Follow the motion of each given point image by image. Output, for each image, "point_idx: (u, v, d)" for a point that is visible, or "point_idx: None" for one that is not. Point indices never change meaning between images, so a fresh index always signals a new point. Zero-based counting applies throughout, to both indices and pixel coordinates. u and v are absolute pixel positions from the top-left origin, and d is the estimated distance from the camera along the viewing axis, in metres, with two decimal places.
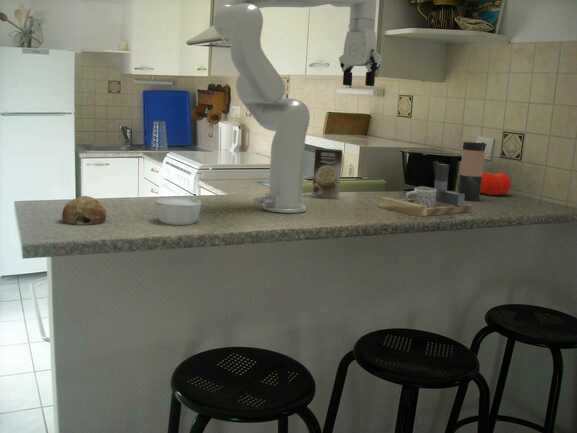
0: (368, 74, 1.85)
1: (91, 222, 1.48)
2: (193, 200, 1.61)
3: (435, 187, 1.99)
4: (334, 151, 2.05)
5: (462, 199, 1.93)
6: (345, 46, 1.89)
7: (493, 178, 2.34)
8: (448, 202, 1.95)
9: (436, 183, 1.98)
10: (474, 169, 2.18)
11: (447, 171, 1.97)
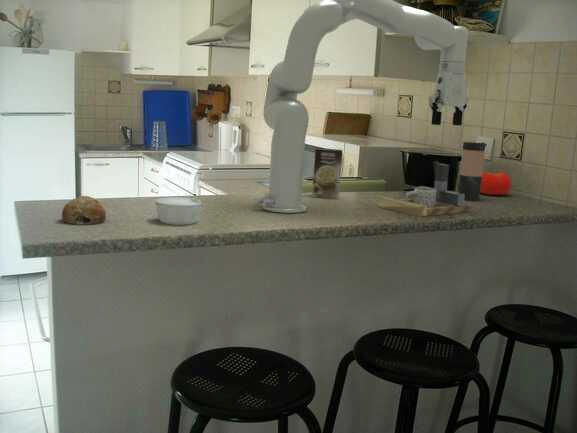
0: None
1: (91, 222, 1.48)
2: (193, 200, 1.61)
3: (435, 187, 1.99)
4: (334, 151, 2.05)
5: (462, 199, 1.93)
6: (448, 87, 1.89)
7: (493, 178, 2.34)
8: (448, 202, 1.95)
9: (436, 183, 1.98)
10: (474, 169, 2.18)
11: (447, 171, 1.97)
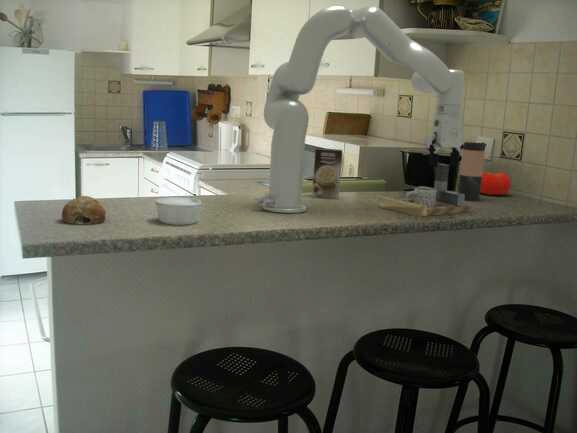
0: None
1: (91, 222, 1.48)
2: (193, 200, 1.61)
3: (435, 187, 1.99)
4: (334, 151, 2.05)
5: (462, 199, 1.93)
6: (444, 129, 1.91)
7: (493, 178, 2.34)
8: (448, 202, 1.95)
9: (436, 183, 1.98)
10: (474, 169, 2.18)
11: (447, 171, 1.97)
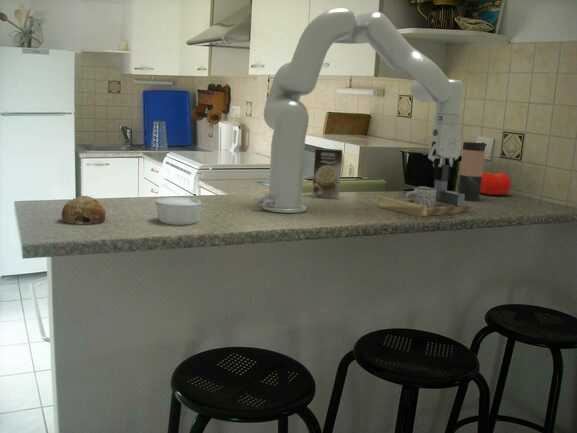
0: None
1: (90, 222, 1.48)
2: (193, 200, 1.61)
3: (435, 187, 1.99)
4: (334, 151, 2.05)
5: (462, 199, 1.93)
6: (443, 139, 1.92)
7: (493, 178, 2.34)
8: (448, 202, 1.95)
9: (436, 183, 1.98)
10: (474, 169, 2.18)
11: (447, 171, 1.97)
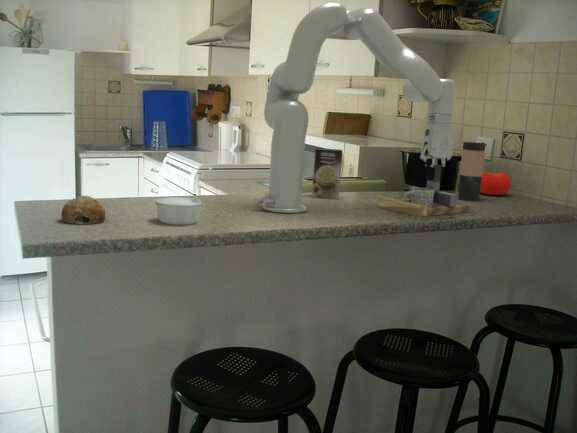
0: None
1: (90, 222, 1.48)
2: (193, 200, 1.61)
3: (427, 187, 1.97)
4: (334, 151, 2.05)
5: (454, 200, 1.91)
6: (435, 139, 1.90)
7: (493, 178, 2.34)
8: (440, 203, 1.93)
9: (428, 183, 1.96)
10: (474, 169, 2.18)
11: (439, 172, 1.95)
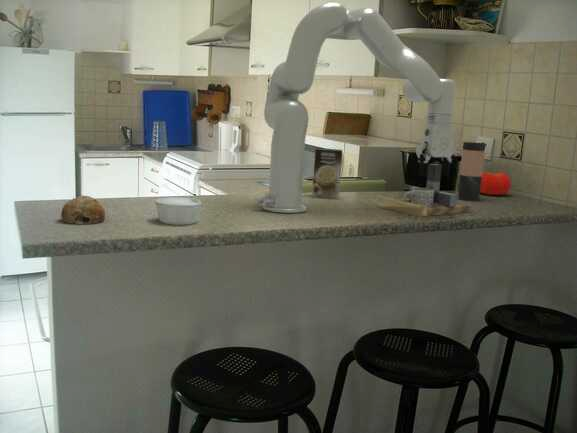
0: None
1: (90, 221, 1.49)
2: (193, 200, 1.61)
3: (427, 187, 1.97)
4: (334, 151, 2.05)
5: (454, 200, 1.91)
6: (435, 139, 1.90)
7: (493, 178, 2.34)
8: (440, 203, 1.93)
9: (428, 183, 1.96)
10: (474, 169, 2.18)
11: (439, 172, 1.95)
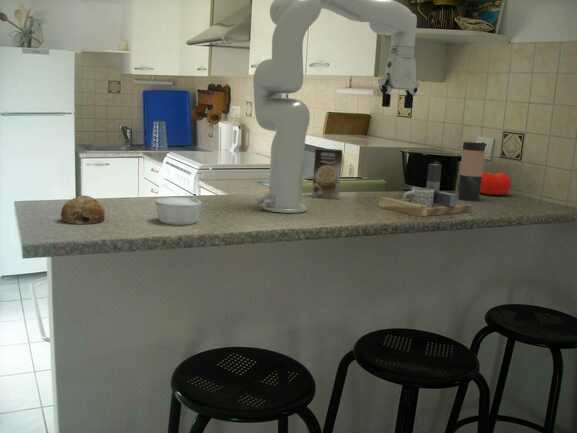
0: None
1: (90, 221, 1.49)
2: (193, 200, 1.61)
3: (427, 187, 1.97)
4: (334, 151, 2.05)
5: (454, 200, 1.91)
6: (396, 70, 1.98)
7: (493, 178, 2.34)
8: (440, 203, 1.93)
9: (428, 183, 1.96)
10: (474, 169, 2.18)
11: (439, 172, 1.95)
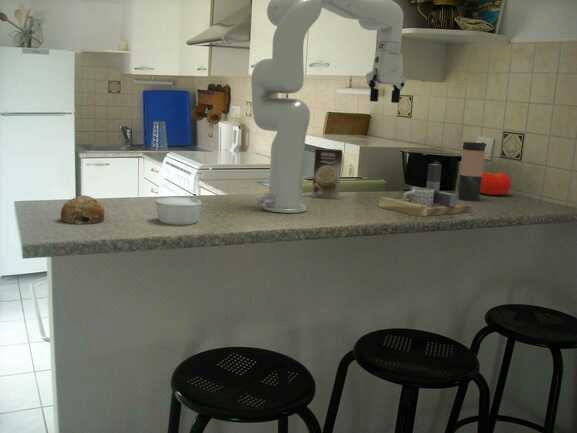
0: None
1: (90, 221, 1.49)
2: (193, 200, 1.61)
3: (427, 187, 1.97)
4: (334, 151, 2.05)
5: (454, 200, 1.91)
6: (384, 65, 2.02)
7: (493, 178, 2.34)
8: (440, 203, 1.93)
9: (428, 183, 1.96)
10: (474, 169, 2.18)
11: (439, 172, 1.95)
